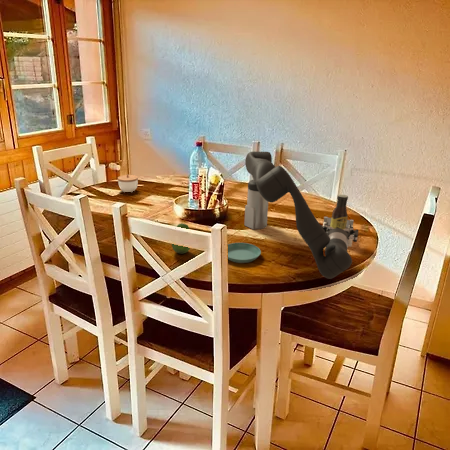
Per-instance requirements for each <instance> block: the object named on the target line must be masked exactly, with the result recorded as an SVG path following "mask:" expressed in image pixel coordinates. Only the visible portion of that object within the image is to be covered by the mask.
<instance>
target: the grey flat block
mask: <svg viewBox="0 0 450 450" xmlns="http://www.w3.org/2000/svg"><path fill="white" fill-rule="evenodd" d="M331 218H332V217H328V219H327V222H328V226H330V224H331ZM349 223H350V219H347V224H346V228H347V229H349Z"/></svg>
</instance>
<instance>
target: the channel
mask: <svg viewBox="0 0 450 450" xmlns="http://www.w3.org/2000/svg"><path fill="white" fill-rule="evenodd" d="M328 218H329V217H328V216H323V223H322V226H324V224H325V223H326V222H327V219H328ZM354 222H355V221H354V219H349V226H350V225H352V227H353V228H354ZM353 242H354V241H353V240H352V239H349V240H348V247H349V248H350V247H352V246H353Z"/></svg>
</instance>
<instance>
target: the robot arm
mask: <svg viewBox="0 0 450 450" xmlns="http://www.w3.org/2000/svg"><path fill="white" fill-rule="evenodd" d="M272 160H273V157H272V154H271V152H269V151H249V152H248V153H247V154H246V157H245V160H244V161H245V162H244V164H245V168H246V169H245V170H246V171H247V172H248V174H250V176H251V177H252V179H251V180H249V181H248V182H247V199H246V200H247V202H246V203H247V204H246V205H244V223H243V224H244V226H245V227H248V228H249V229H251V230H262V229H266V228H267V226H268V214H269V203H275V202H277V201H278V200H280V199H281V198H282V197H284V196H285V195H287V194H288V193H289V194H290V195H291V198H292V201H293V204H294V211H295V223H296V224H295V225H296V228H297V229H296V230H297V231H298V234H299V235H300V237H301V238H302V239H303V241H304V242H305V244H306V245H307V247H308V248H309V250H310V252H311V253H312V257H313V258H314V261H315V264H316V267H317V269H318V271H319V273H320V275H322V277H324V278H325V279H328V280H329V279H330V280H332V279H334V278H335V277H337V276H338V275H340V274H341V273H343V272H345V271H346V270H348V269H349V268H350V267H351V265H352V264H353V259H352V256H351V255H350V253H349V252H348V249H349V246H348V240H349V239H352V240H353V241H352V242H355V243H356V242H358V236H359V229H357V228H356V229H354V226H353V227H352V225H350V226H349V228H346V229H340V228H332V227H331V226H328V222H326V223H325V224H324V226H323V224H322V225H321V223H320V222H319V221H318V220H317V218H316V216H315V215H314V213H313V212H312V210H311V208H310V207H309V204H308V203H307V201H306V200H305V198H304V196H303V195H302V193H301V191H300V189H299V187H298V186H297V185H296V183H295V181H294V179H292V178H293V177H291V175H290V174H289V173H288V172H287V170H286V169H285V168H284V167H283V166H281V165H277V166H275V164H273V162H272Z"/></svg>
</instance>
